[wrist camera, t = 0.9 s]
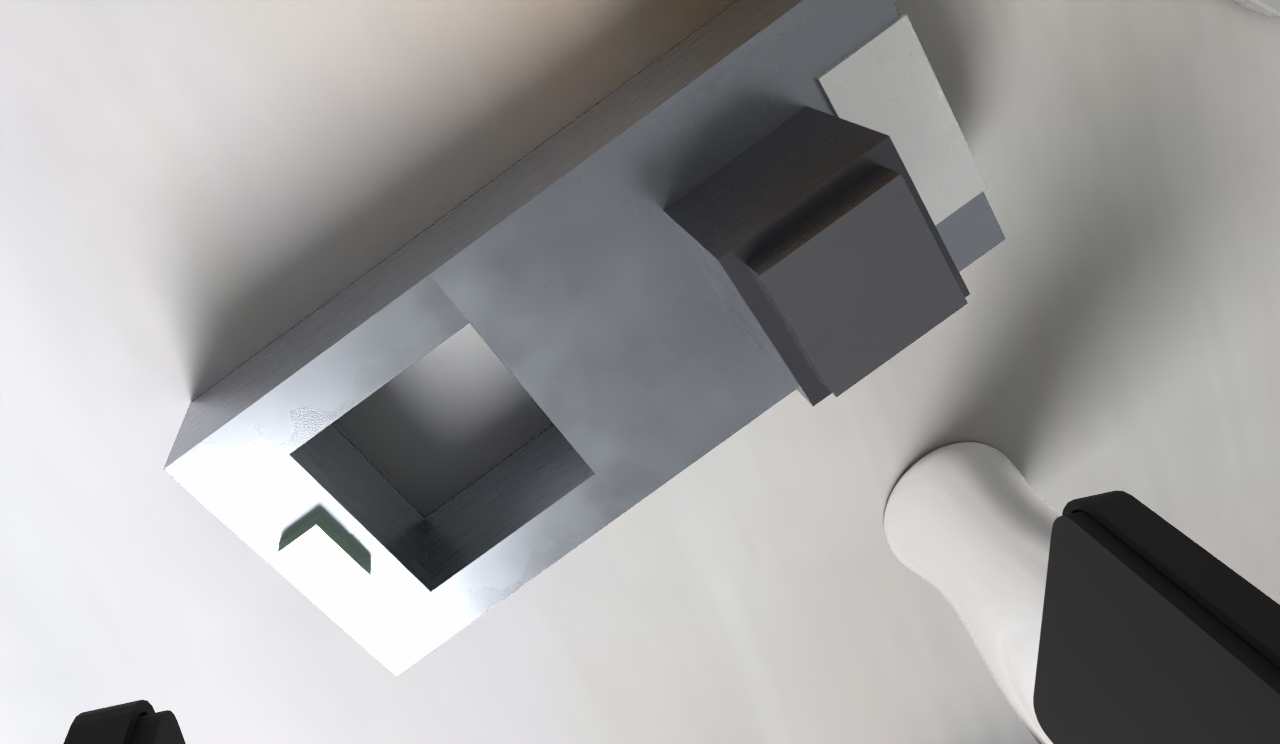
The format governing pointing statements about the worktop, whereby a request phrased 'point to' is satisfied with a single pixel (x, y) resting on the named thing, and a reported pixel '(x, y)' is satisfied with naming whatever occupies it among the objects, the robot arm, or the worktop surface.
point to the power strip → (612, 312)
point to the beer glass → (980, 556)
